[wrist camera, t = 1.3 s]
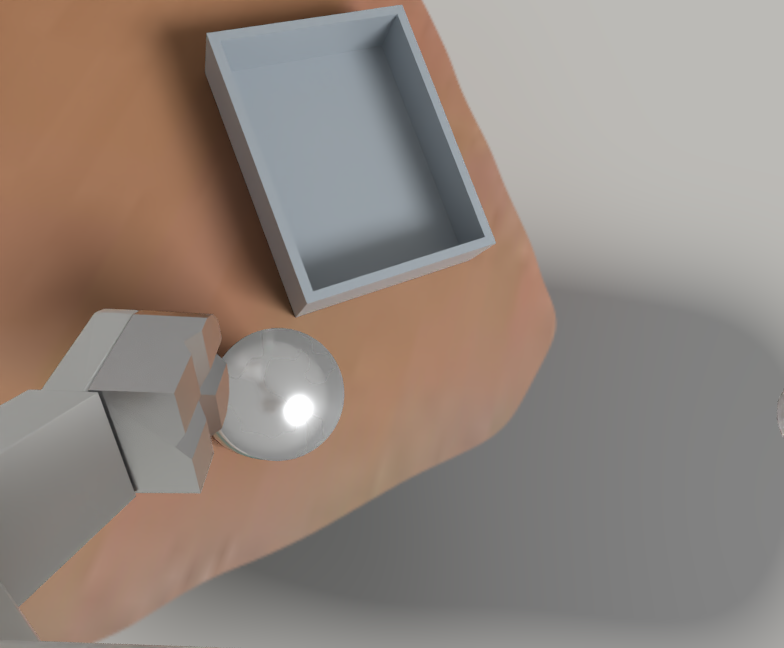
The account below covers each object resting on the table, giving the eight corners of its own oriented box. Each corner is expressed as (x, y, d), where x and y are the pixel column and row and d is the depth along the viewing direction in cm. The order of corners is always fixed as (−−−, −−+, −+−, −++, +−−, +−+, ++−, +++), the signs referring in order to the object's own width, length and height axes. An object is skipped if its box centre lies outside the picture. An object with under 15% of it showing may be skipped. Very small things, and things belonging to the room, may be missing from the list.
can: (190, 379, 36) (190, 352, 25) (280, 348, 38) (318, 310, 27) (222, 470, 36) (237, 484, 25) (312, 434, 38) (364, 431, 27)
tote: (204, 72, 40) (206, 33, 36) (383, 42, 45) (402, 4, 41) (295, 317, 39) (307, 304, 35) (469, 260, 43) (496, 243, 40)
